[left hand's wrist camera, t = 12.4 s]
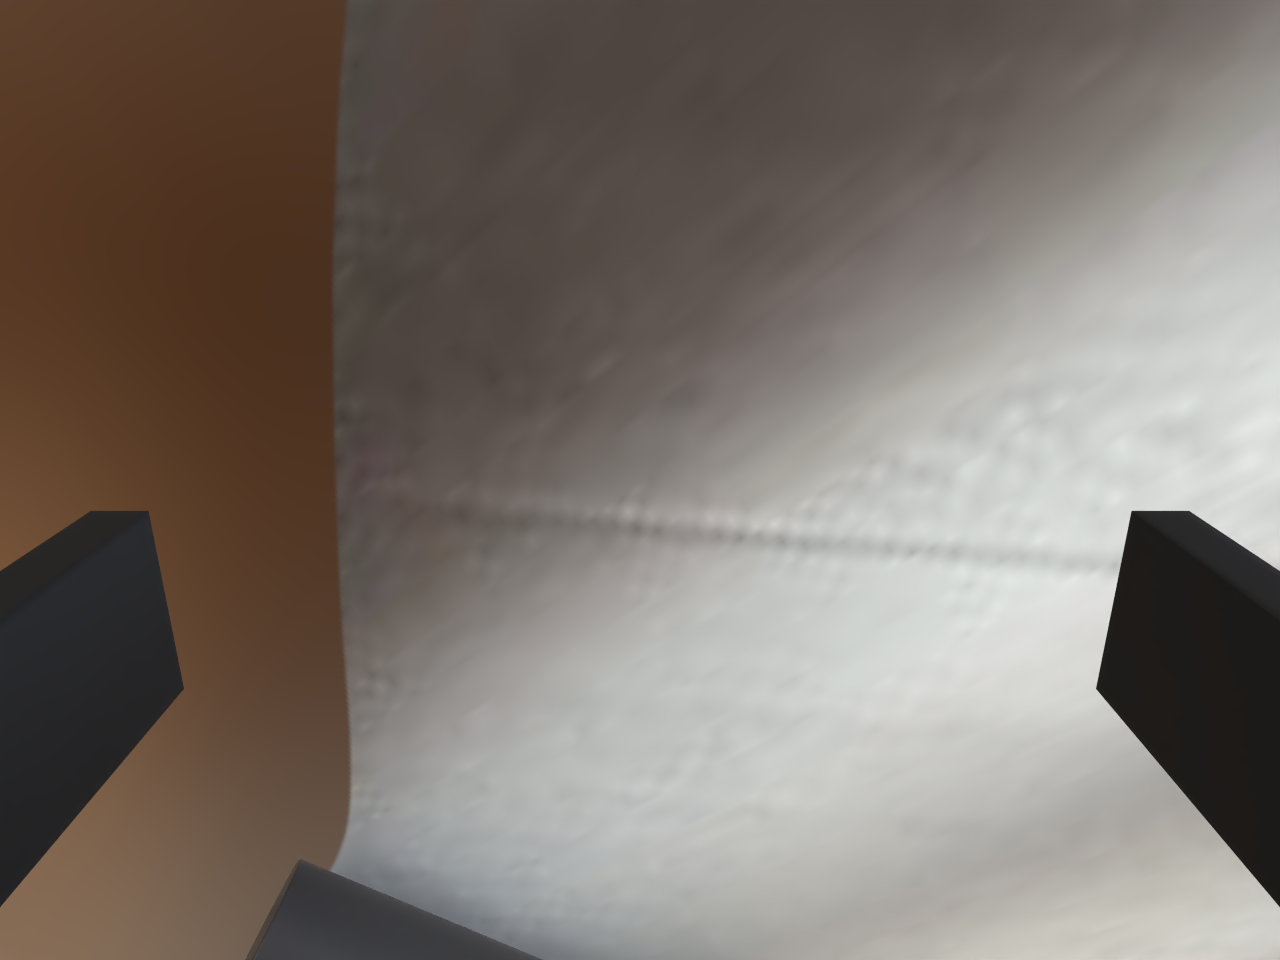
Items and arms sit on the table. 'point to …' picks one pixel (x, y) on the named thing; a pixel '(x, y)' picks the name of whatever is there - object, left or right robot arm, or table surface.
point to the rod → (362, 926)
